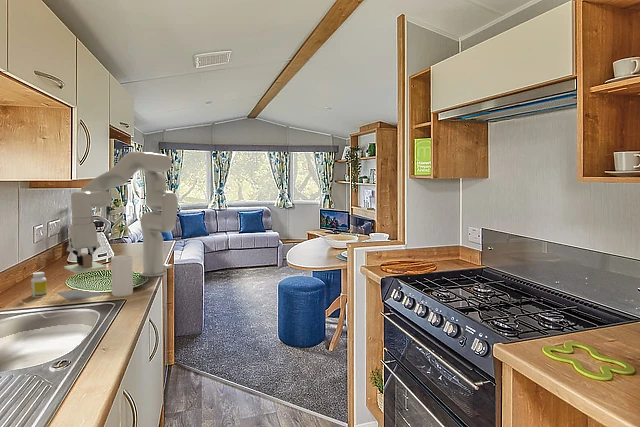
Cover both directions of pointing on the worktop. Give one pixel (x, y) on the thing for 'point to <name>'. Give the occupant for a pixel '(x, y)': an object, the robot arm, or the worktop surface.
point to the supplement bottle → (38, 285)
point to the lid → (85, 265)
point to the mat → (79, 294)
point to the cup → (122, 275)
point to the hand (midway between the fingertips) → (85, 263)
